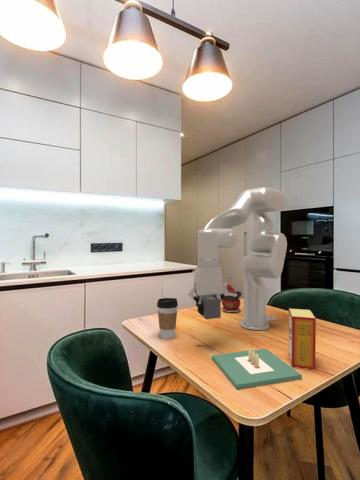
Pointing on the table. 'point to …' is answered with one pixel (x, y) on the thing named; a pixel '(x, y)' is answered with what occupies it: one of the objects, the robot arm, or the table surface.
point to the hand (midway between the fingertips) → (208, 312)
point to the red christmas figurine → (231, 299)
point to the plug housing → (211, 307)
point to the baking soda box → (302, 338)
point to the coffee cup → (167, 317)
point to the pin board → (254, 368)
